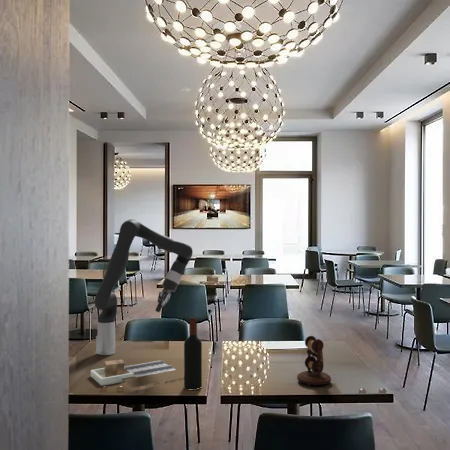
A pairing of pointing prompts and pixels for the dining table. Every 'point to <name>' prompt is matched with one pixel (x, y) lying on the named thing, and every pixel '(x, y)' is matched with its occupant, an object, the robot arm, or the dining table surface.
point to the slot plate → (149, 368)
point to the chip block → (114, 368)
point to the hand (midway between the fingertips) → (157, 311)
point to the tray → (103, 380)
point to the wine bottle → (192, 359)
